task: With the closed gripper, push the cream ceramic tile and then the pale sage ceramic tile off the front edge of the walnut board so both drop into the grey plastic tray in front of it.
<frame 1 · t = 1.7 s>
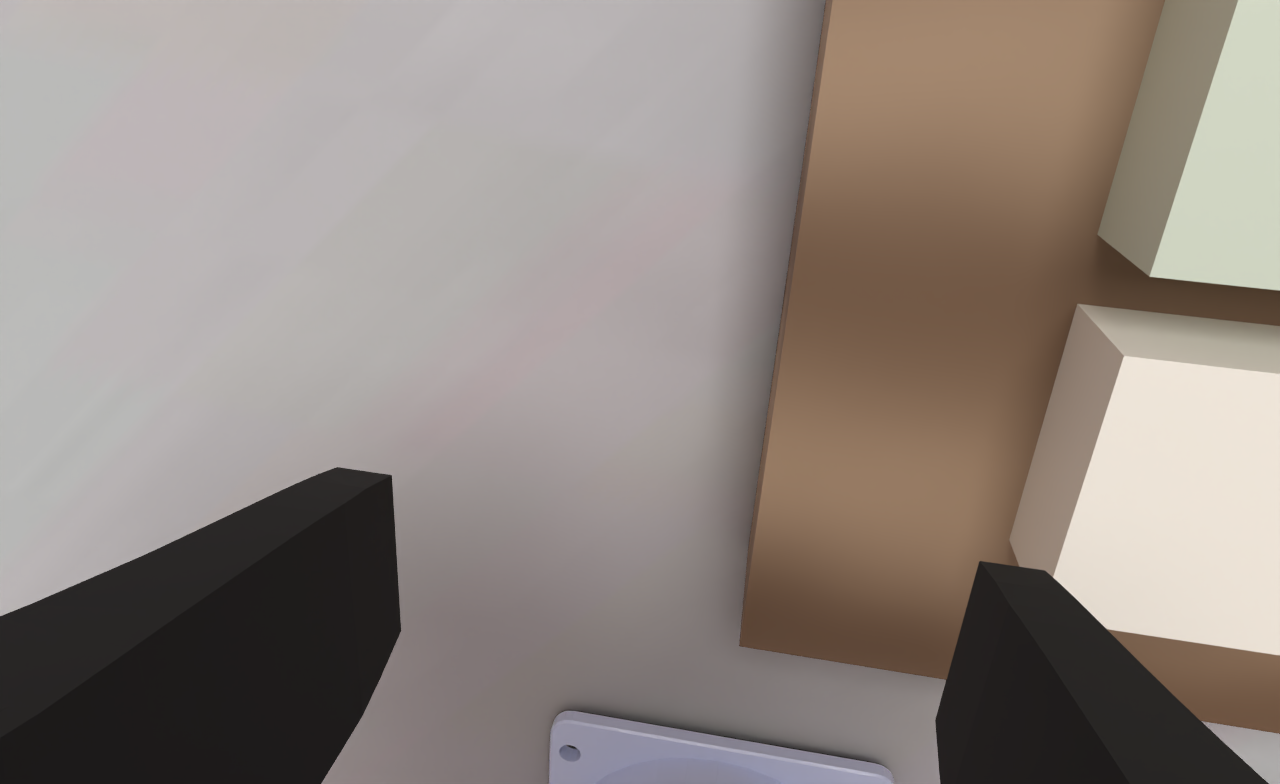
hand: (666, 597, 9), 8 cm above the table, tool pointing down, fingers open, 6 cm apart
walnut board: (1141, 289, 15), on the table
cream tile: (1181, 447, 13), point 3 cm above the table, touching walnut board
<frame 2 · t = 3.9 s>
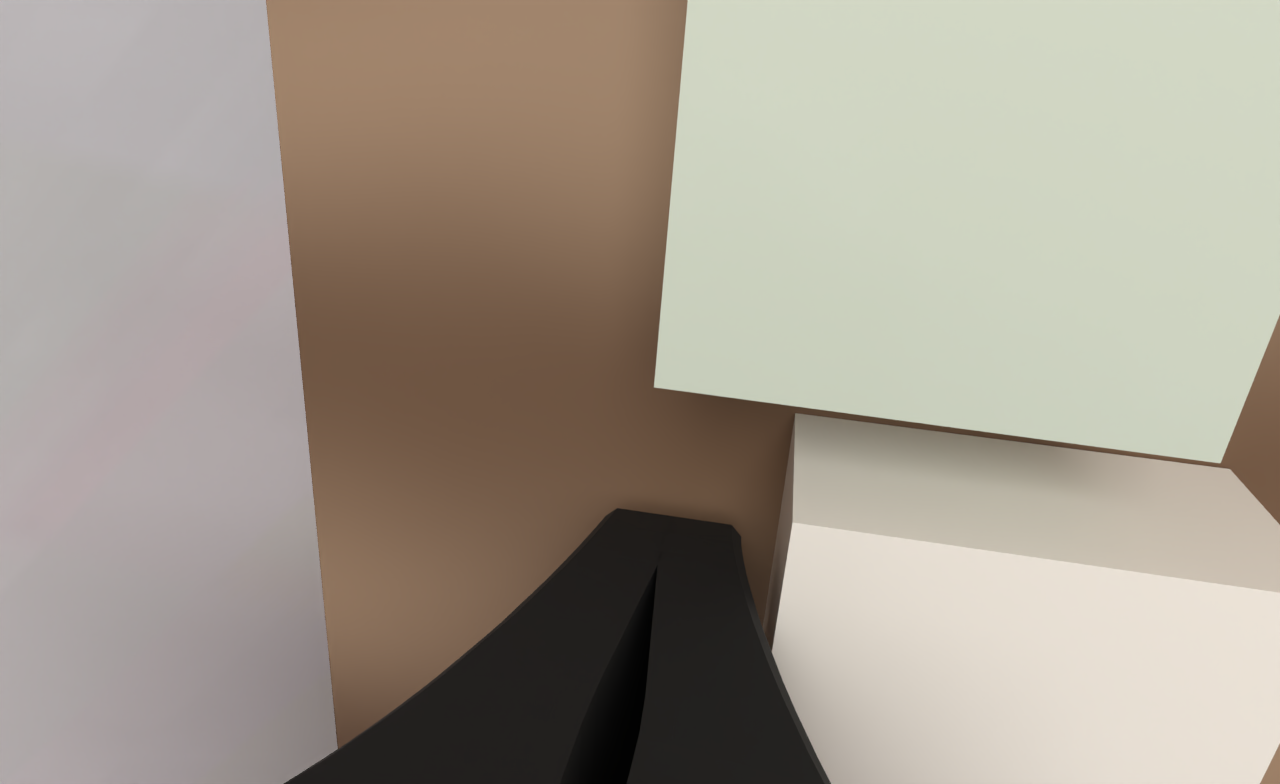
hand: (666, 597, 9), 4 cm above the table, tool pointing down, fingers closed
walnut board: (852, 358, 12), on the table
sage tile: (945, 104, 7), point 3 cm above the table, touching walnut board
cream tile: (961, 608, 9), point 3 cm above the table, touching gripper, walnut board
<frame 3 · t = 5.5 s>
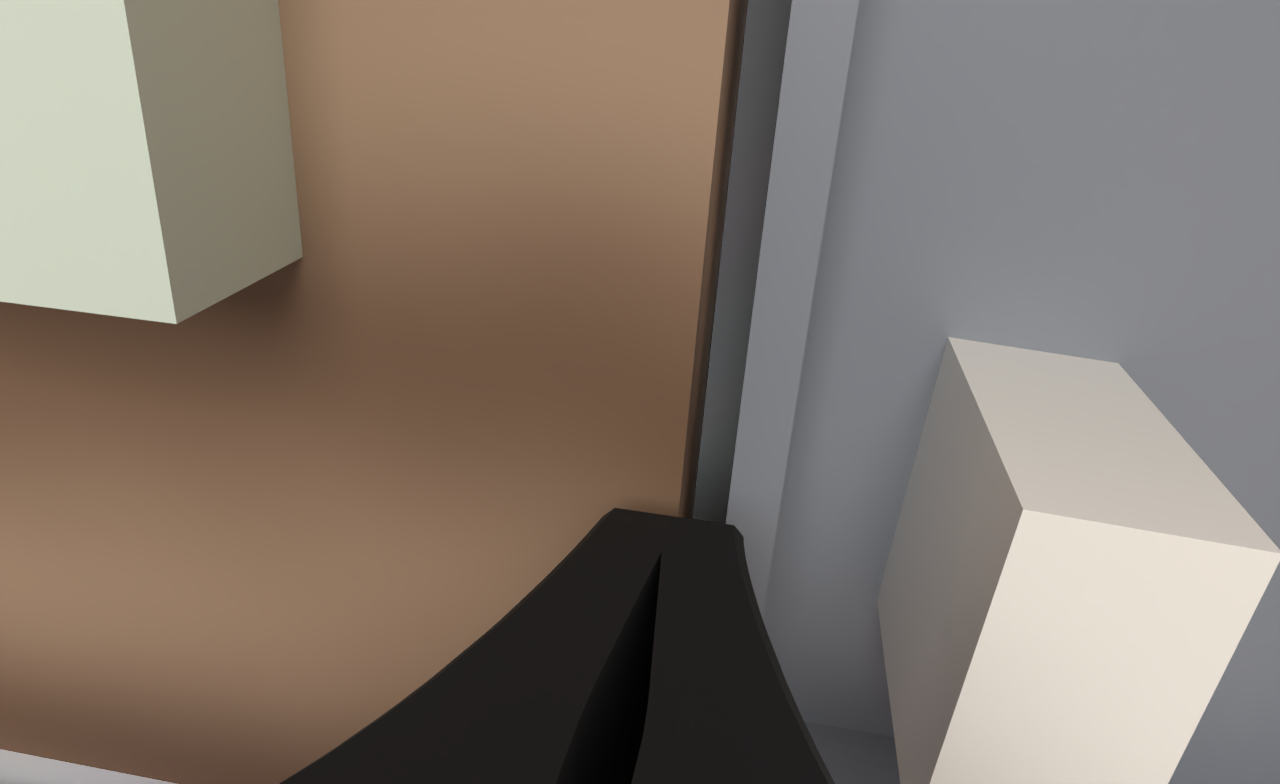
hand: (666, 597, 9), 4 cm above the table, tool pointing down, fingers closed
walnut board: (286, 287, 12), on the table
sage tile: (81, 25, 8), point 3 cm above the table, touching walnut board
cream tile: (930, 566, 10), point 2 cm above the table, tilted 90°, touching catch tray
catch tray: (1128, 389, 11), on the table
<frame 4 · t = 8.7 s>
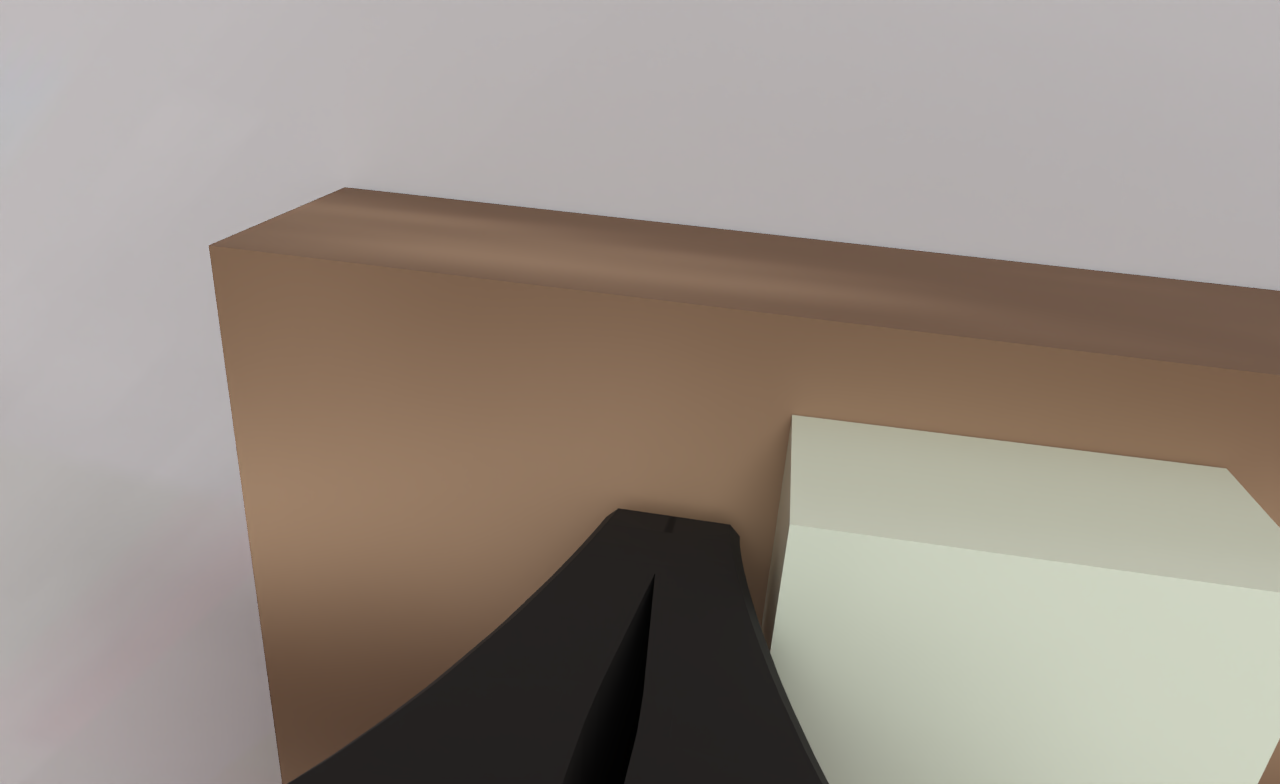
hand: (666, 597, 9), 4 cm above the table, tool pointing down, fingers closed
walnut board: (739, 647, 14), on the table
sage tile: (959, 609, 9), point 3 cm above the table, touching gripper
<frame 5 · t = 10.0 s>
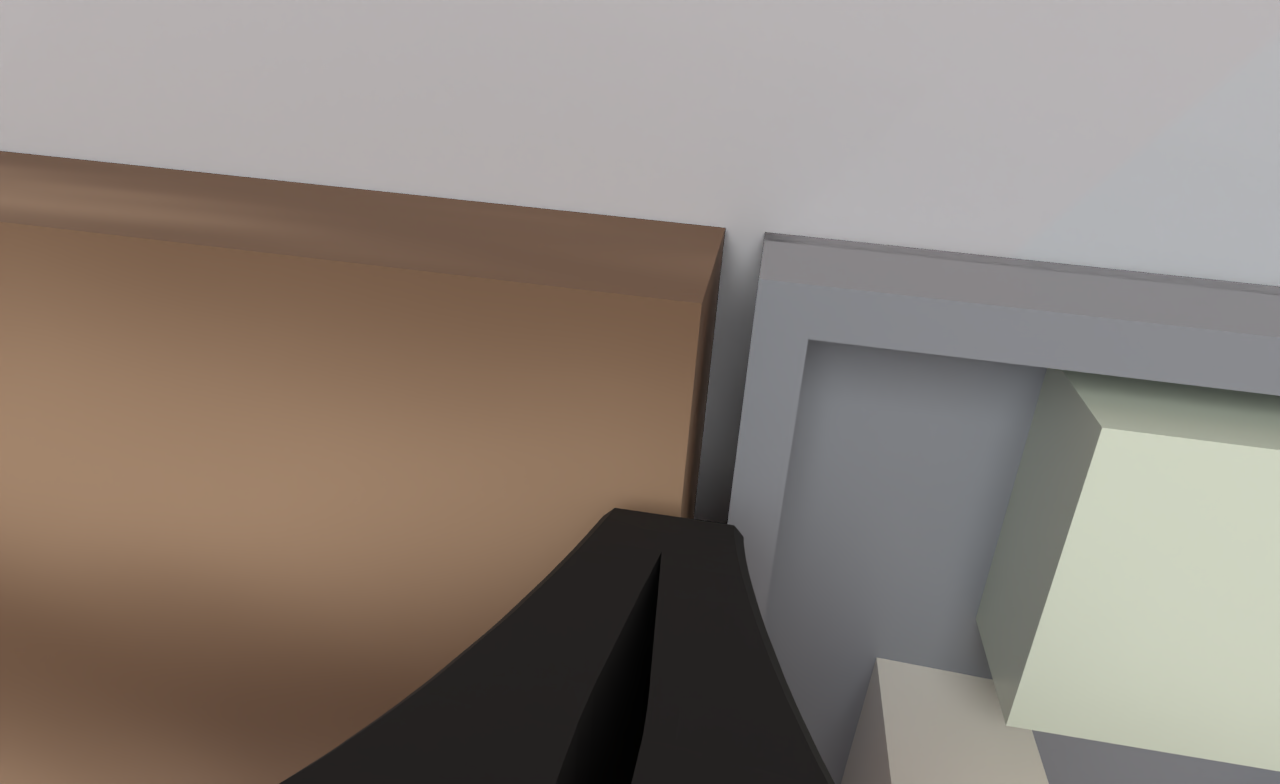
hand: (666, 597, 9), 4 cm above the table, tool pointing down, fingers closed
walnut board: (318, 578, 15), on the table
sage tile: (1244, 618, 9), point 2 cm above the table, tilted 180°, touching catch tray
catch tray: (1029, 693, 13), on the table
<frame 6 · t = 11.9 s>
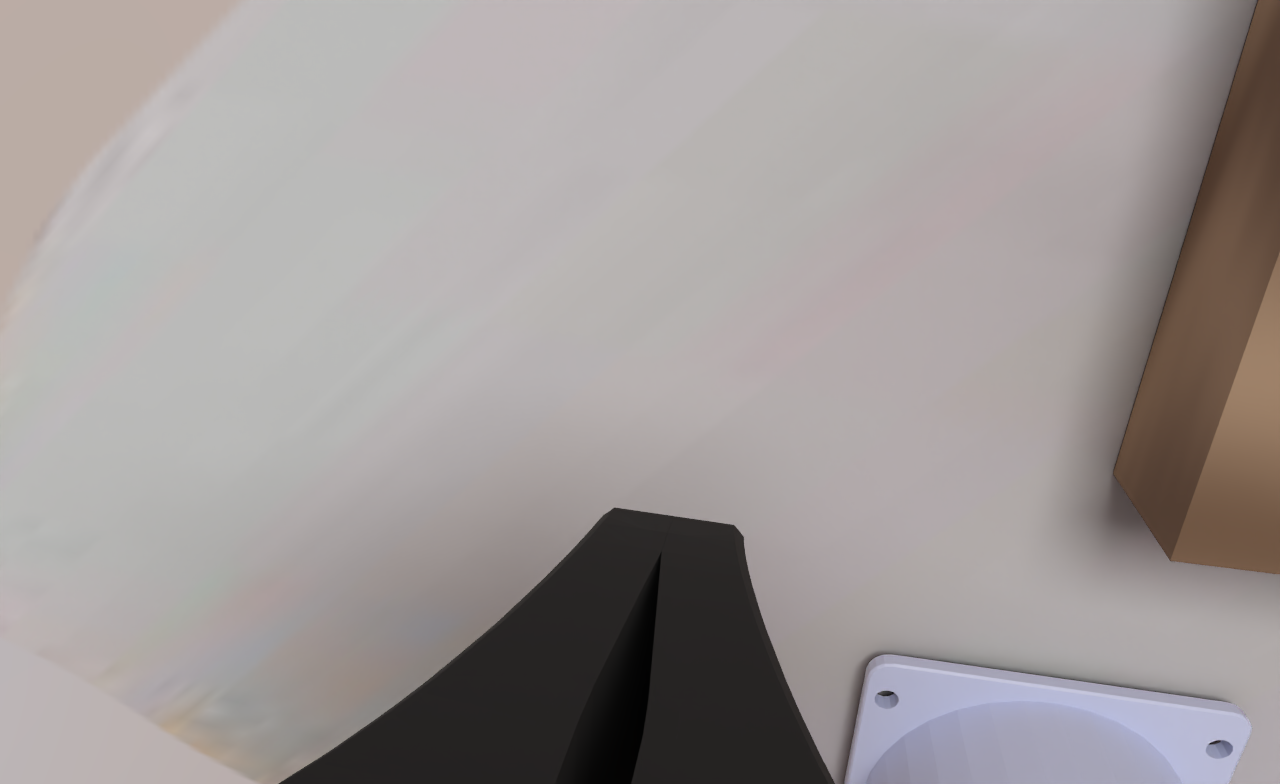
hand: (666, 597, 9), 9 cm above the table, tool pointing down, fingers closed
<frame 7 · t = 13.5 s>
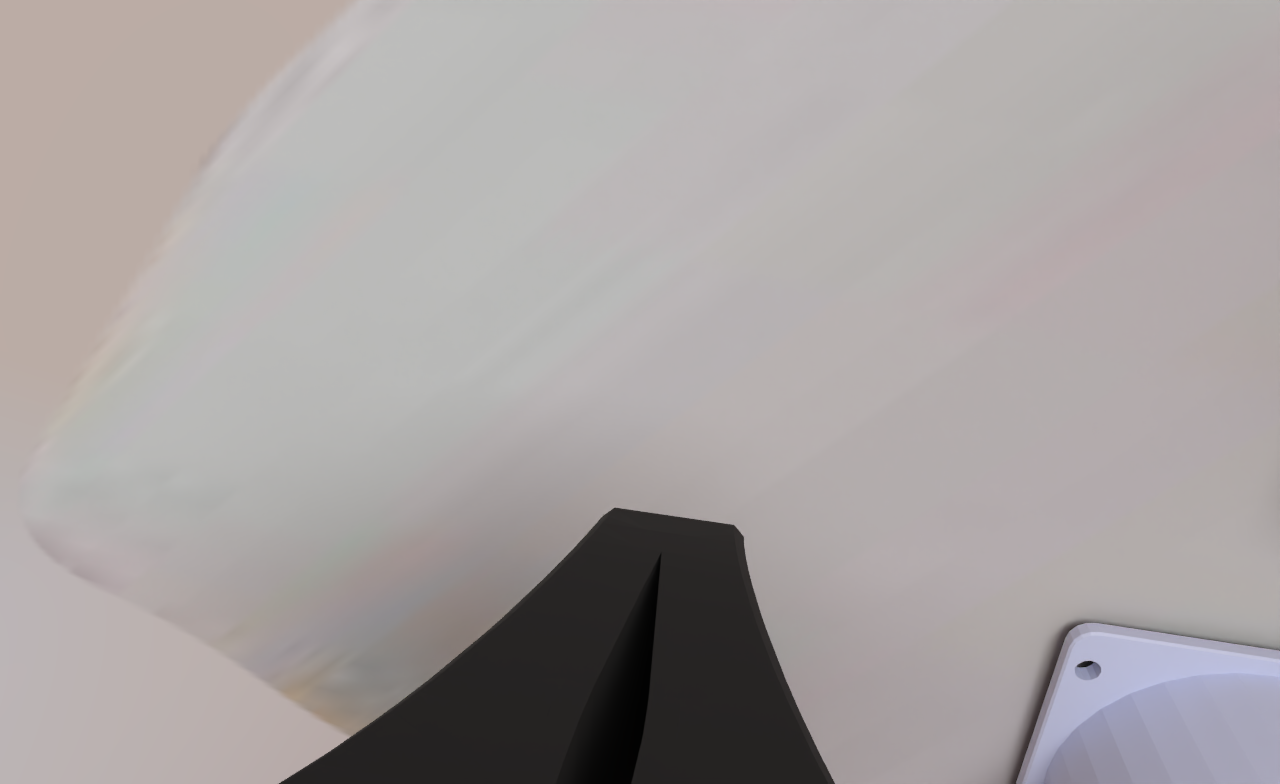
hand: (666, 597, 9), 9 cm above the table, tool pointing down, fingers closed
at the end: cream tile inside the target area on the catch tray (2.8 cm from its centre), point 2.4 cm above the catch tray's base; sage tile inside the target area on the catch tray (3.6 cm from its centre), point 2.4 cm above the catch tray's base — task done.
